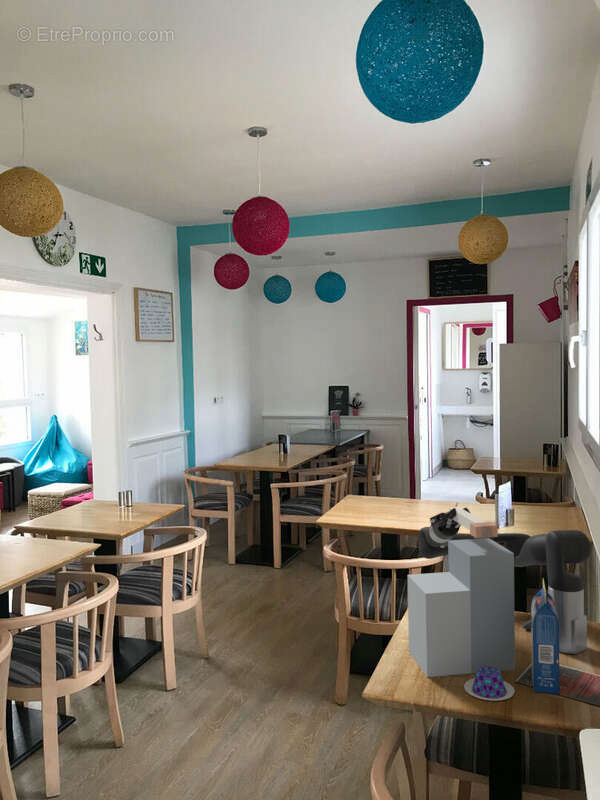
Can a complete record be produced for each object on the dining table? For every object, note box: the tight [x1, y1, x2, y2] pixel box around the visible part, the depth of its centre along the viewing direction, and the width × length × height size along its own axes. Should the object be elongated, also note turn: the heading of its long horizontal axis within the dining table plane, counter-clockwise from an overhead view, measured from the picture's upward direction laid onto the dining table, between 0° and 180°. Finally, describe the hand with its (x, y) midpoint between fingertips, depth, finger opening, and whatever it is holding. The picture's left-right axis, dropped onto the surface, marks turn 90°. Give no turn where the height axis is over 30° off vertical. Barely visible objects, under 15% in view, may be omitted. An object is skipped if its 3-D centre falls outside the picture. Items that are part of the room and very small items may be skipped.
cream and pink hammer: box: [448, 506, 499, 538], centre depth 191 cm, size 24×6×3 cm, turn 8°
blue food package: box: [530, 578, 560, 695], centre depth 170 cm, size 6×12×25 cm, turn 163°
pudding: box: [463, 666, 515, 701], centre depth 168 cm, size 12×12×5 cm
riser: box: [407, 538, 516, 678], centre depth 184 cm, size 16×24×31 cm, turn 98°
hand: (460, 511), depth 197 cm, fingers closed on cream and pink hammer, 3 cm apart
